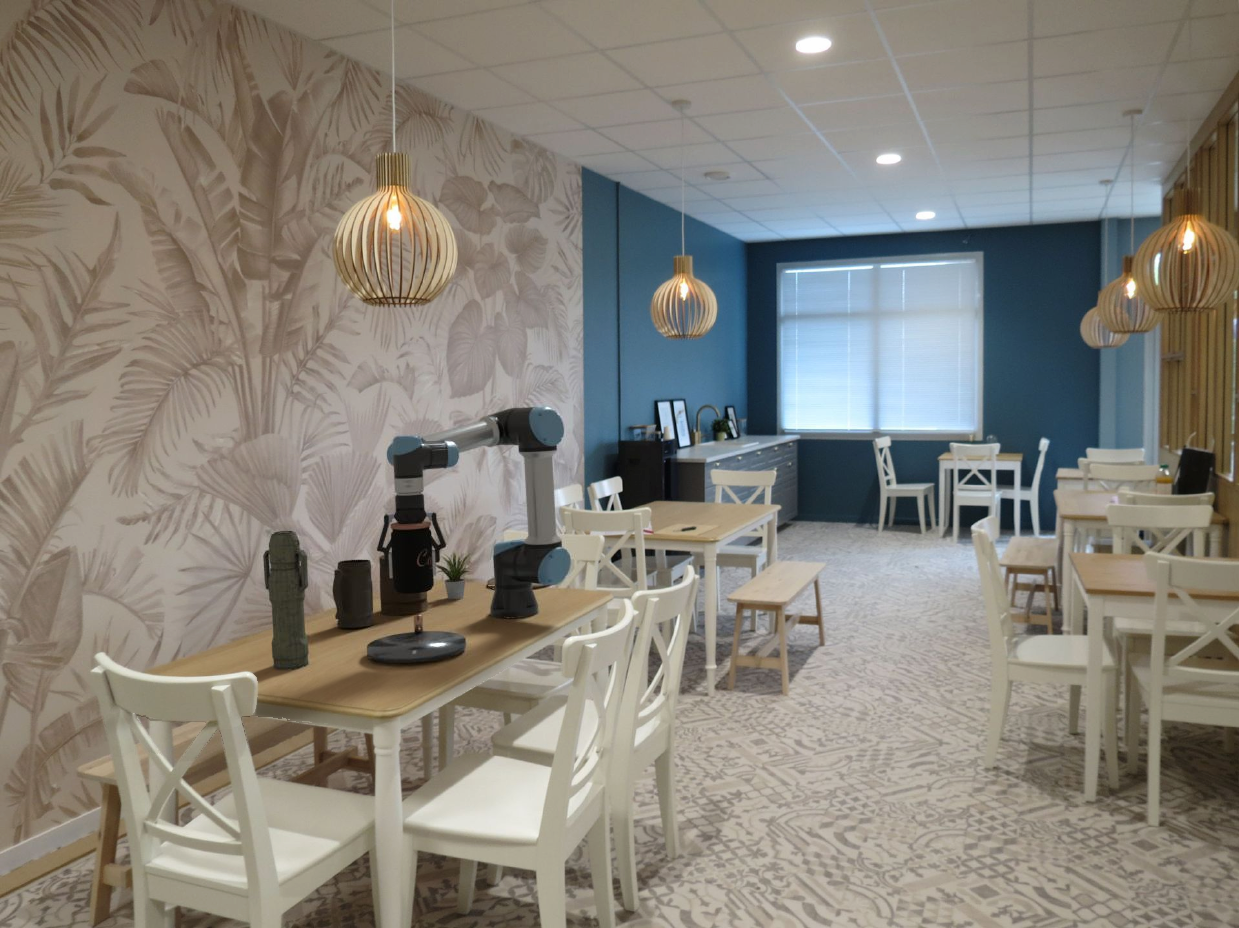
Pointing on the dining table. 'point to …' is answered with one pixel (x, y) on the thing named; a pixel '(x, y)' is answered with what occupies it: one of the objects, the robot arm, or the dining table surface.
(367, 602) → the beer stein
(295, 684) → the dining table surface
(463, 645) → the disc
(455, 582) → the house plant
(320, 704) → the dining table surface
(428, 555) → the coffee jar
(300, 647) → the thermos
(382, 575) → the wooden container
